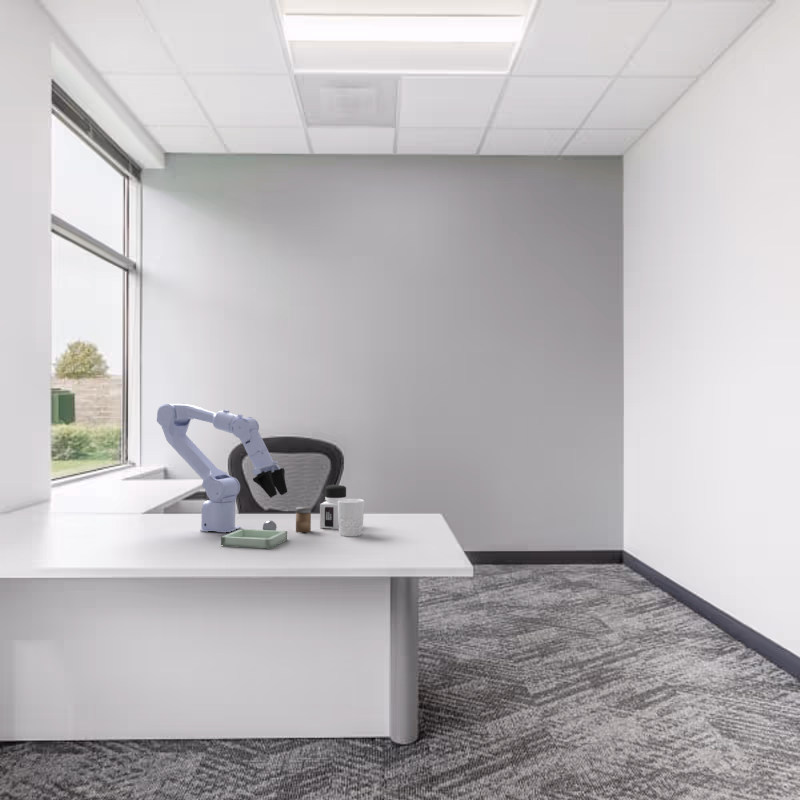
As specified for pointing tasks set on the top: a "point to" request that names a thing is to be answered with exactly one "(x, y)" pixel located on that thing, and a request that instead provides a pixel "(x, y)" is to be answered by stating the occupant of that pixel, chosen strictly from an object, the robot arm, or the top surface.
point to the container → (331, 506)
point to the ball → (269, 525)
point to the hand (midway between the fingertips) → (279, 494)
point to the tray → (254, 538)
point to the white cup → (350, 516)
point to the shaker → (303, 519)
